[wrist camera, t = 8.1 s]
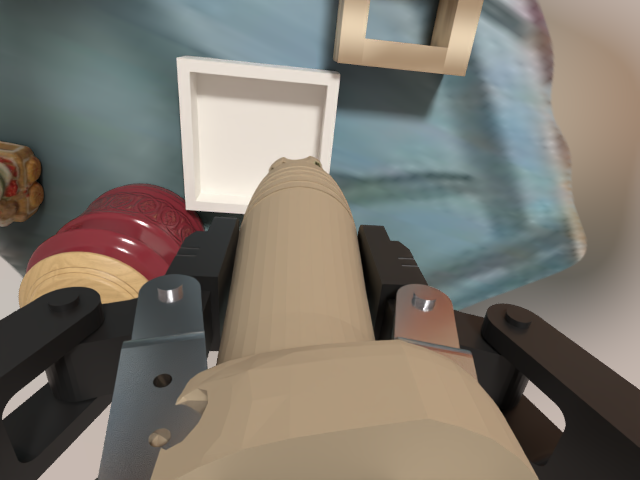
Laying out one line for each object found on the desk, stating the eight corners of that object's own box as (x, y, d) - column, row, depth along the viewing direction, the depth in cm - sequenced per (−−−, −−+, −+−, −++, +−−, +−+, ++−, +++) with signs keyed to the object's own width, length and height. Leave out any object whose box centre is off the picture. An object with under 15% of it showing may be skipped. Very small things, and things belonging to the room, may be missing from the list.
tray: (186, 55, 36) (176, 57, 33) (336, 71, 38) (340, 74, 35) (193, 197, 43) (185, 209, 40) (322, 206, 44) (323, 219, 41)
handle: (383, 188, 19) (599, 565, 5) (273, 257, 20) (226, 695, 7) (326, 99, 17) (442, 341, 3) (210, 183, 18) (-37, 589, 5)
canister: (190, 171, 42) (126, 254, 26) (221, 274, 48) (184, 391, 32) (70, 189, 42) (-66, 282, 26) (116, 289, 48) (28, 413, 32)
